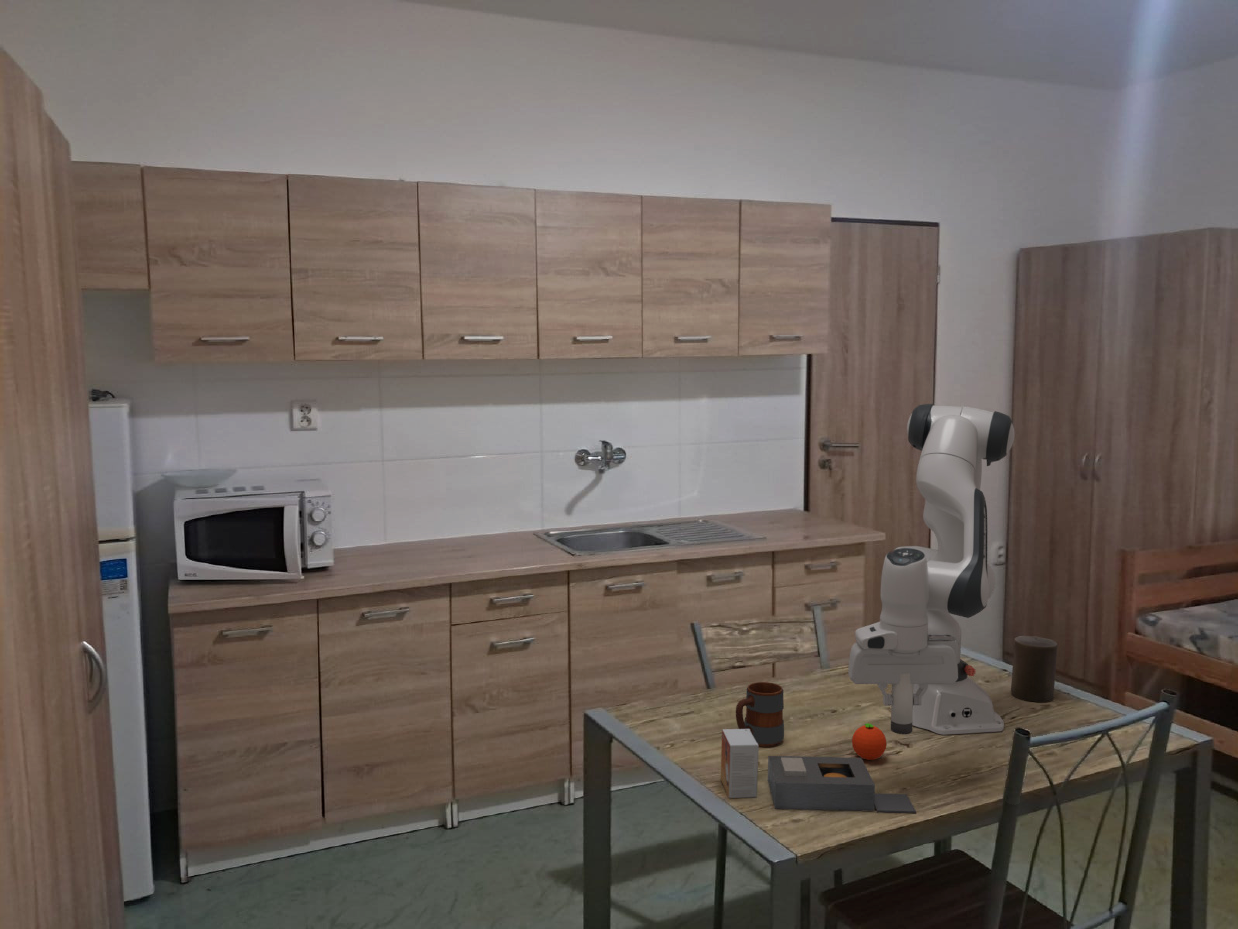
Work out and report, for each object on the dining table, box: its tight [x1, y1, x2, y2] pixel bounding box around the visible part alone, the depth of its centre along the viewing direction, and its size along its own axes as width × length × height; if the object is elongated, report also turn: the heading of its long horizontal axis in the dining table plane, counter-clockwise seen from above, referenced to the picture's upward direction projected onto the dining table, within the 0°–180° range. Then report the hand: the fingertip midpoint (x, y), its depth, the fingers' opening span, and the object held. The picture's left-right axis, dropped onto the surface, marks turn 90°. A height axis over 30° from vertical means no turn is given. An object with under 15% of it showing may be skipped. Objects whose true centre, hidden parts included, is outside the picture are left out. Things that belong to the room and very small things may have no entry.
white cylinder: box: [890, 674, 913, 735], centre depth 192 cm, size 4×4×12 cm
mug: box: [735, 681, 785, 748], centre depth 213 cm, size 9×12×12 cm
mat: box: [874, 792, 917, 814], centre depth 185 cm, size 7×7×1 cm
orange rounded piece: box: [824, 773, 846, 777], centre depth 188 cm, size 4×4×2 cm
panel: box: [767, 755, 876, 812], centre depth 188 cm, size 18×12×6 cm, turn 88°
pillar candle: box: [1010, 635, 1058, 704], centre depth 242 cm, size 10×10×15 cm
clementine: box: [851, 723, 888, 761], centre depth 206 cm, size 8×7×7 cm
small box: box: [720, 728, 760, 799], centre depth 191 cm, size 8×6×10 cm
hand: (902, 704), depth 192 cm, fingers closed on white cylinder, 4 cm apart
